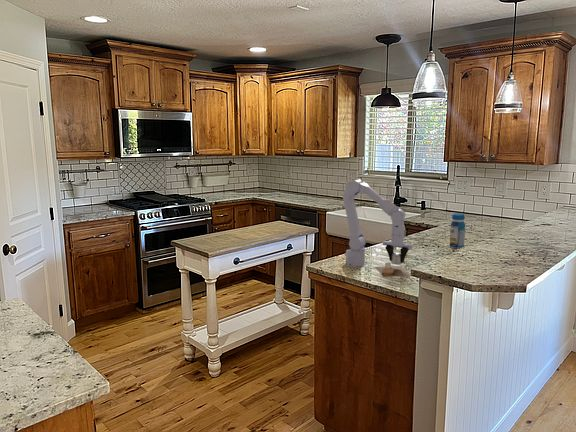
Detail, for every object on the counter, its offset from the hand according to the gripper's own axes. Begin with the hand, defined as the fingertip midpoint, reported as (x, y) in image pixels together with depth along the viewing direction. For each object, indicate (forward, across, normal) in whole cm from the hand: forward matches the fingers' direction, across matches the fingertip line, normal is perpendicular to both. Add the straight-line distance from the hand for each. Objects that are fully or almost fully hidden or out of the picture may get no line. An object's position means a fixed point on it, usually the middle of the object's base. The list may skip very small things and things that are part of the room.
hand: (396, 261), depth 219 cm
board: (+5, 0, +6) cm, 7 cm away
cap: (+1, 0, 0) cm, 1 cm away
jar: (+3, 0, +10) cm, 11 cm away
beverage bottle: (+5, -9, -64) cm, 65 cm away
